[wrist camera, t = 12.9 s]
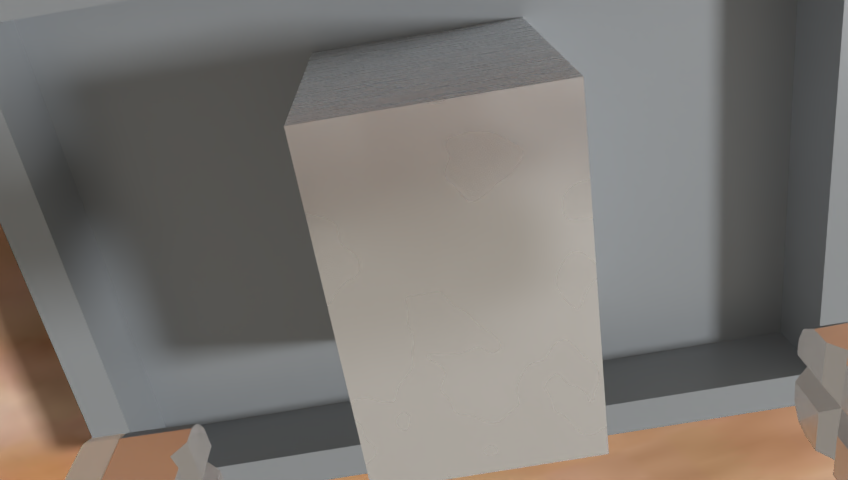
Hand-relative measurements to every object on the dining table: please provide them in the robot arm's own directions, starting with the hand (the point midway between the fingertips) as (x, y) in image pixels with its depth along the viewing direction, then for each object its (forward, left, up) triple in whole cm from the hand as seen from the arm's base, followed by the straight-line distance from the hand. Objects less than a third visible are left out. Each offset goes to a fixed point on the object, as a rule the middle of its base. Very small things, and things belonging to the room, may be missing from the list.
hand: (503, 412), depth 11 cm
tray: (+1, 0, -11) cm, 11 cm away
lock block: (+1, 0, -10) cm, 10 cm away
